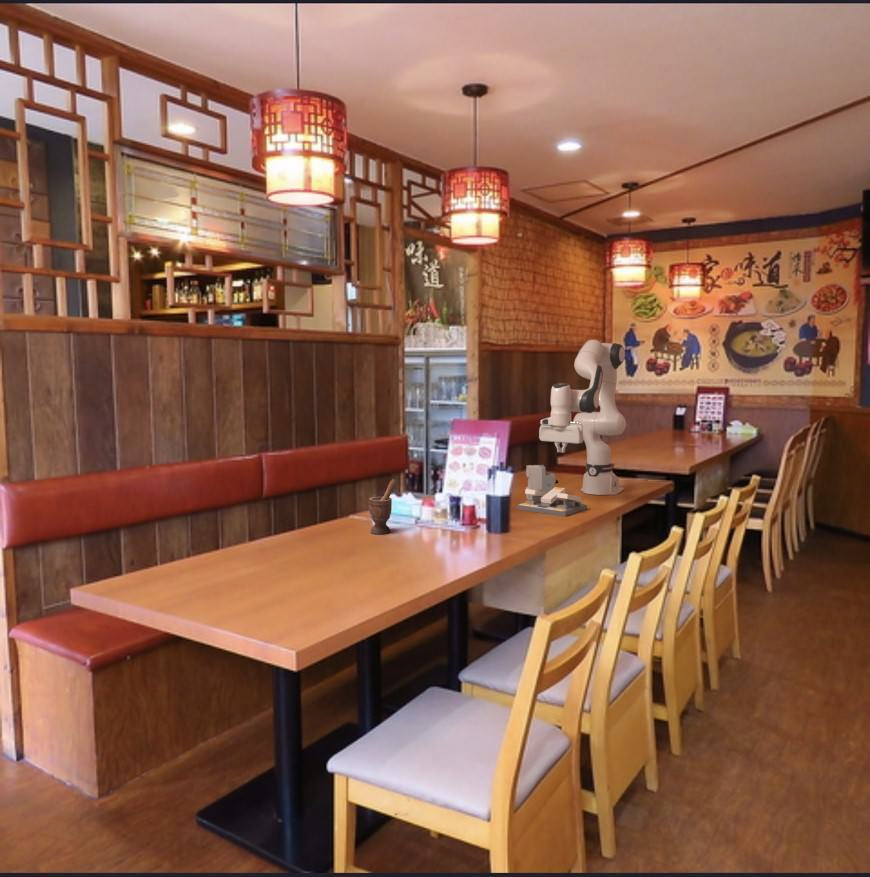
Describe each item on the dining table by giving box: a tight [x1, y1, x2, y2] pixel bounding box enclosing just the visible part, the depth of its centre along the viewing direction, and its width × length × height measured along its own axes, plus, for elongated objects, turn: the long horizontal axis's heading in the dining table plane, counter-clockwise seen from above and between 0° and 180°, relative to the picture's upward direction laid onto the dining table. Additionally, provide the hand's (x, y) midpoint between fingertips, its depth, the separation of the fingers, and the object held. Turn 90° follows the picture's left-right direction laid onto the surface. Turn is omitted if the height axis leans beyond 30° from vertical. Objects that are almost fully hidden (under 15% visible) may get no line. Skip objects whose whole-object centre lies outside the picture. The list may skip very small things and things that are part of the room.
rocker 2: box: [541, 486, 566, 504], centre depth 318 cm, size 12×5×2 cm, turn 139°
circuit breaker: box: [525, 464, 559, 501], centre depth 342 cm, size 8×14×15 cm, turn 89°
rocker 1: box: [524, 488, 548, 497], centre depth 323 cm, size 12×5×2 cm, turn 139°
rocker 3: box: [557, 493, 582, 503], centre depth 312 cm, size 12×5×2 cm, turn 139°
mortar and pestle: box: [368, 478, 399, 535], centre depth 280 cm, size 12×9×20 cm
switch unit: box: [516, 496, 588, 517], centre depth 317 cm, size 18×24×5 cm
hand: (561, 452), depth 319 cm, fingers closed
